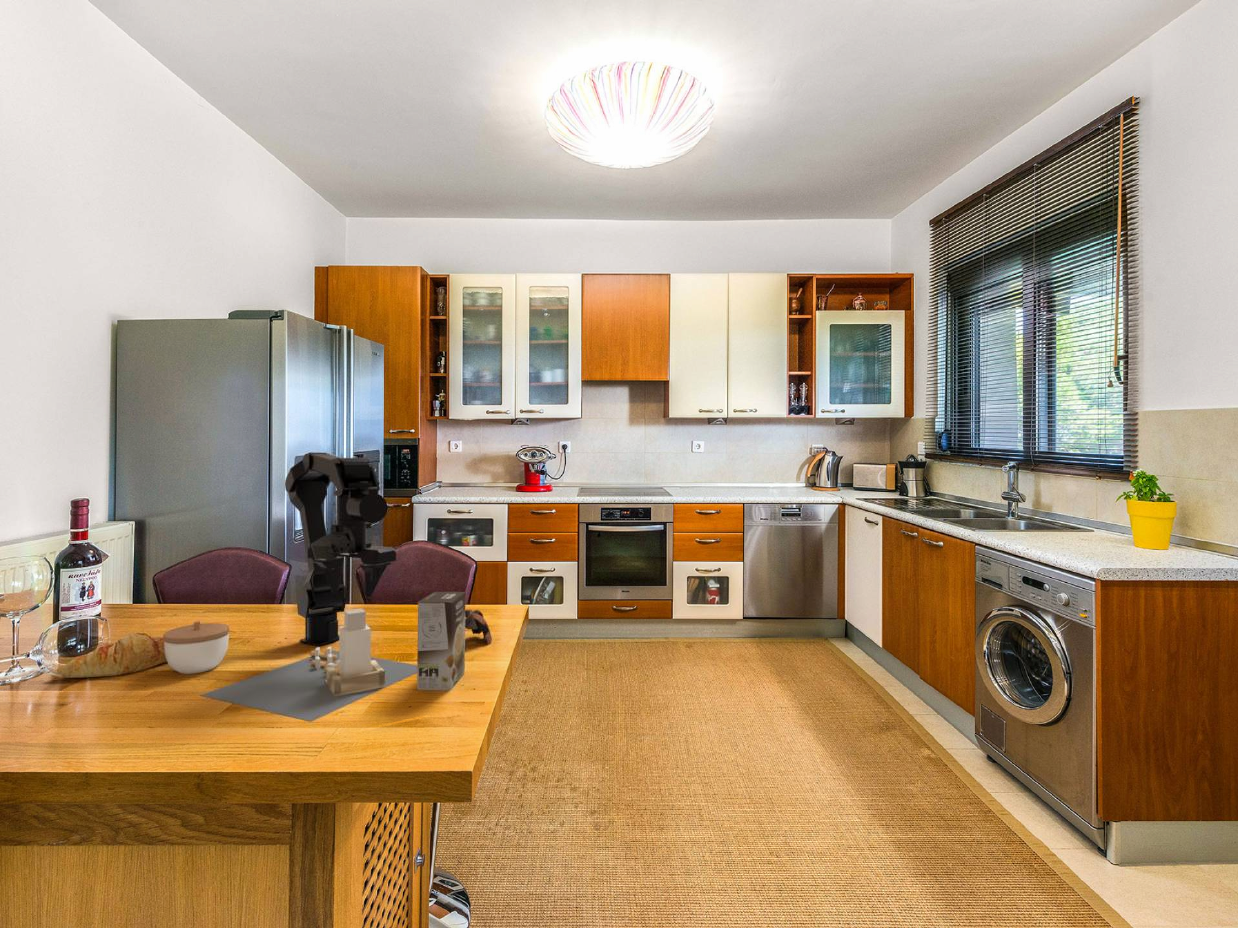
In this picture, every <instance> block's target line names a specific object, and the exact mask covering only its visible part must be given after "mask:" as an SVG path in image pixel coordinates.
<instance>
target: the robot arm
mask: <svg viewBox="0 0 1238 928" xmlns="http://www.w3.org/2000/svg"><path fill="white" fill-rule="evenodd" d="M303 455H304V456H303V458H302V460H300V461H299V462H297V463H296V464H295V465H293V466H292V467H290V468H289V471H288V474H287V475H286V477H285V480H284V483H285V484H284V487H285V491H286V493H287V494H288V498H289V501H290V503H291V504H292V505H293V506H294V507H295V508H296V509H297V510H298V511H299V517H300V522H301V523H300V524H301V528H302V536H303V541H304V547H305V555H306V561H307V566H308V573H307V576H306V578H305V581H304V583H303V585H302V587H303V591H302V592H301V593H302V594H301V596H300V598H299V599H298V601H297V604H296V609H297V614H298V616H301V617H302V618H304V619H305V623H304V625H305V626H304V627H305V630H304V631H305V633H304V638H301V639H299V640H298V642H299V643H302V644H309V645H314V646H318V647H319V646H323V645H326V644H329V643H333V642H335V641H338V640H339V636H340V634H339V620H338V613H340V612H341V613H344V611H345V610H346V609H345V608H346V603H347V597H348V590H347V587H346V585H345V583H344V575H343V573H342V571H343V567H344V565H343V564H344V559H345V558H354V559H355V558H356V559H360V561H361V562H362V563H363V564H360V565H359V567H360V568H361V570H362V571H363V572H364V589H365V597H366V598H370V597H372V596H373V594H374V592H375V589H376V587H377V585H378V583H379V582H380V580H381V577H382V575H383V574H384V573H385V570H386V568H387V567H388V566H391V565H392V563H393V562H396V561H397V550H396V549H395V548H394V547H392V546H374V547H372V543H371V542H367V541H368V540H367V539H368V534H367V532H368V531H367V530H368V529H371V528H372V524H376V523H379V522H381V521H383V519H384V518H385V517H386V516H387V513H388V509H389V506H388V502H387V501H386V499H385V497H384V496H382V495H380V494H379V492H380V491H381V488H380V480H379V478H378V476H377V474H376V472H375V469H374V466H373V464H372V463H371V461H370V460H369V458H368V457H339V456H337V455H332V454H330V453H327V452H308V453H305V454H303ZM331 483H332V484H333V485H334V487H335V489H336V490H335V491H334V495H333V496H336V523H334V524H333V523H332V524H331V526H330V533H328V534H327V528H326V523H325V518H324V517H325V516H324V511H323V504H324V501H325V500H326V497H327V496H328V489H329V486H330V484H331Z"/></svg>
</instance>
